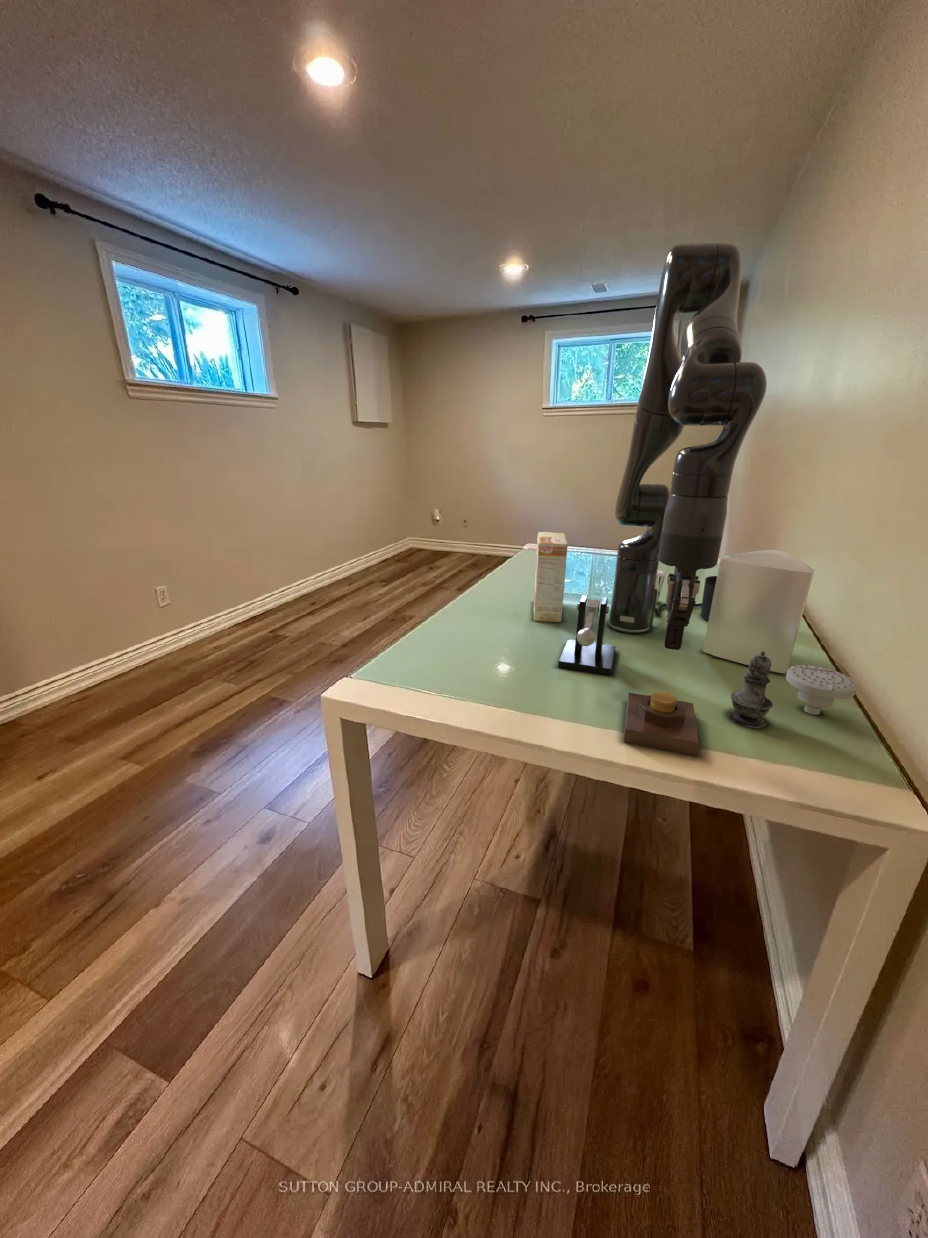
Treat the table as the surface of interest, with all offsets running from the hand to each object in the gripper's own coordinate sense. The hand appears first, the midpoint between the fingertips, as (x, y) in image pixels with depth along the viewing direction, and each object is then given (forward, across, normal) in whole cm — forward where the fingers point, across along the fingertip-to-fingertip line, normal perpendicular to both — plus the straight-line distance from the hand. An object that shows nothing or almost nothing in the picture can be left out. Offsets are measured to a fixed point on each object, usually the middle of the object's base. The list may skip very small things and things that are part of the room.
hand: (671, 647), depth 72 cm
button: (+10, 0, 0) cm, 10 cm away
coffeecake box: (+14, +48, +27) cm, 57 cm away
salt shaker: (+14, +8, -14) cm, 21 cm away
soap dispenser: (+14, +37, -18) cm, 43 cm away
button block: (+14, 0, 0) cm, 14 cm away
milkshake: (+14, +67, +1) cm, 69 cm away
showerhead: (+14, +14, -24) cm, 31 cm away
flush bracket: (+14, +22, +13) cm, 29 cm away
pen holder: (+14, +58, -15) cm, 62 cm away
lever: (+6, +17, +13) cm, 23 cm away
